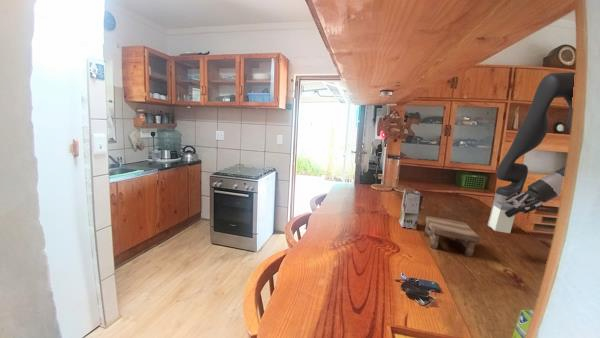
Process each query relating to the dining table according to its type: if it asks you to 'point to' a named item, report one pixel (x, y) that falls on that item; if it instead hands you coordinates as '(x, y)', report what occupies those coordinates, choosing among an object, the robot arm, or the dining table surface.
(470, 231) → the footstool
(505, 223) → the cream faceted block
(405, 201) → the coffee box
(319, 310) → the dining table surface
